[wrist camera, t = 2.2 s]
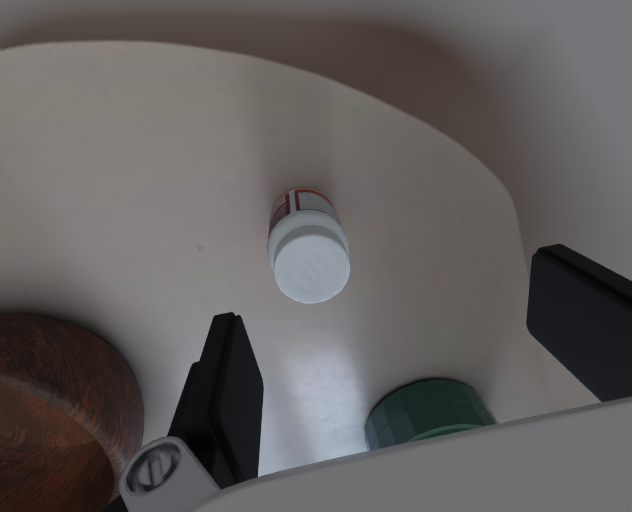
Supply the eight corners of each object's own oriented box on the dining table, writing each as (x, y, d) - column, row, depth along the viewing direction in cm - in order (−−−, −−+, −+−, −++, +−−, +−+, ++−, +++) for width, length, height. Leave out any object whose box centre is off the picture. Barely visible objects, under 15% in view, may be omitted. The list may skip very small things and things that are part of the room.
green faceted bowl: (469, 358, 42) (501, 404, 36) (493, 439, 49) (524, 490, 43) (346, 405, 44) (357, 457, 38) (386, 477, 51) (400, 531, 44)
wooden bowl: (82, 255, 33) (3, 317, 24) (201, 426, 43) (178, 517, 34) (-148, 335, 34) (-310, 424, 25) (20, 482, 45) (-49, 584, 35)
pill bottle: (282, 255, 35) (282, 321, 24) (261, 197, 32) (250, 244, 22) (342, 237, 34) (366, 296, 24) (325, 177, 32) (345, 215, 22)
